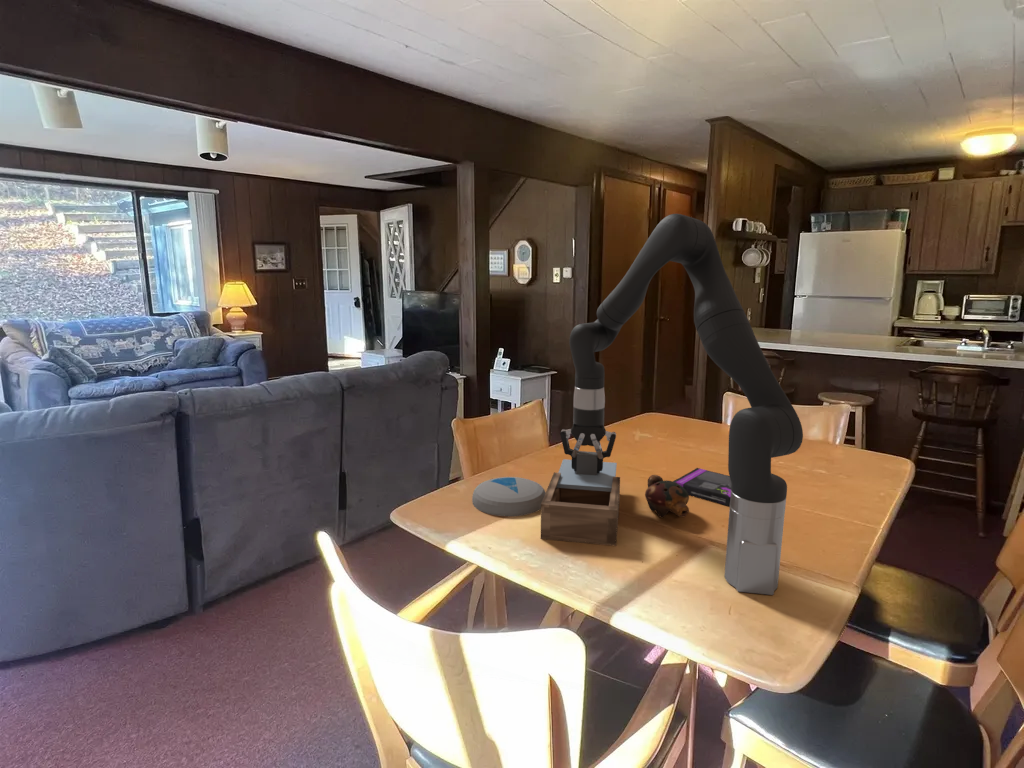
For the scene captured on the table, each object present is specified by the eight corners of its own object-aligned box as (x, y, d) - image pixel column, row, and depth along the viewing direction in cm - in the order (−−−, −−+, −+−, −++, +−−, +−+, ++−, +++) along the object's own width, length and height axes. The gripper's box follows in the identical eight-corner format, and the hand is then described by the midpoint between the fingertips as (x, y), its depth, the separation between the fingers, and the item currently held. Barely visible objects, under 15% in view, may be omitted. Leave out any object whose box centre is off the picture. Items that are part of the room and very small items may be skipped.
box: (670, 493, 153) (744, 513, 140) (671, 480, 152) (745, 499, 139) (696, 479, 163) (767, 496, 150) (696, 467, 162) (768, 483, 149)
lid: (614, 492, 136) (615, 467, 134) (554, 487, 138) (554, 463, 137) (616, 466, 153) (617, 444, 152) (563, 462, 156) (563, 441, 154)
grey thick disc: (487, 522, 134) (486, 502, 133) (462, 494, 151) (462, 475, 150) (559, 510, 141) (559, 490, 140) (528, 484, 158) (528, 466, 157)
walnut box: (616, 545, 122) (617, 510, 121) (540, 538, 126) (540, 504, 124) (619, 508, 142) (620, 477, 140) (553, 502, 145) (553, 472, 143)
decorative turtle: (664, 499, 147) (665, 469, 145) (703, 523, 133) (706, 490, 132) (630, 504, 144) (632, 474, 142) (668, 530, 130) (670, 496, 128)
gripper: (557, 407, 140) (556, 474, 143) (618, 410, 137) (615, 478, 140) (561, 400, 147) (560, 464, 150) (619, 402, 144) (616, 468, 147)
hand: (587, 471), depth 145 cm, fingers closed on lid, 5 cm apart
